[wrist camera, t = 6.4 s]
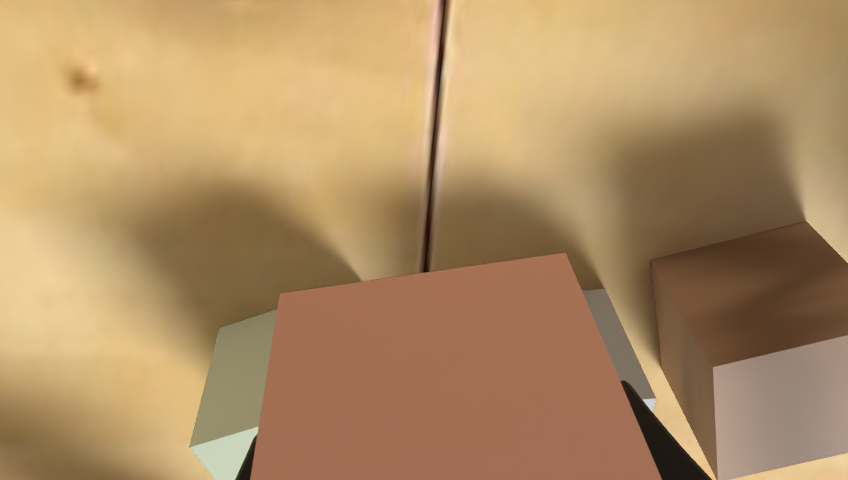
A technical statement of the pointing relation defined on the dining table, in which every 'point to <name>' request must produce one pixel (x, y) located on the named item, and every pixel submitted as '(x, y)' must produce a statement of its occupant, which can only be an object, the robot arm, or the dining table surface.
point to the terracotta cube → (447, 381)
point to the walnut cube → (757, 348)
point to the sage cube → (233, 395)
